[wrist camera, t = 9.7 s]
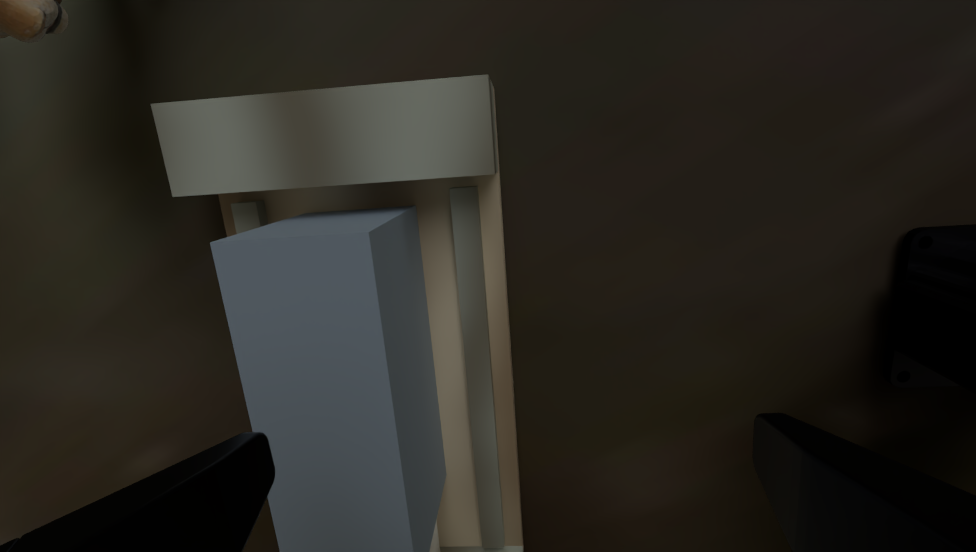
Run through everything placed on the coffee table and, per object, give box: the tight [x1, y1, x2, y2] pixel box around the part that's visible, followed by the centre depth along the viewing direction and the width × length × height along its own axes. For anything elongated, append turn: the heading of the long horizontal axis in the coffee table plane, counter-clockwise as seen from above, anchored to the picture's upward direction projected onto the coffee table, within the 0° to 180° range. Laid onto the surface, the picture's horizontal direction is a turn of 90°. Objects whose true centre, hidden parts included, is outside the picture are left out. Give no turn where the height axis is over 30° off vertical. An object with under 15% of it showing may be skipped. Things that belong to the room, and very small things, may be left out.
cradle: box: [151, 75, 524, 552], centre depth 20 cm, size 11×23×4 cm, turn 4°
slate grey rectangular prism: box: [210, 205, 447, 552], centre depth 17 cm, size 4×14×6 cm, turn 4°
